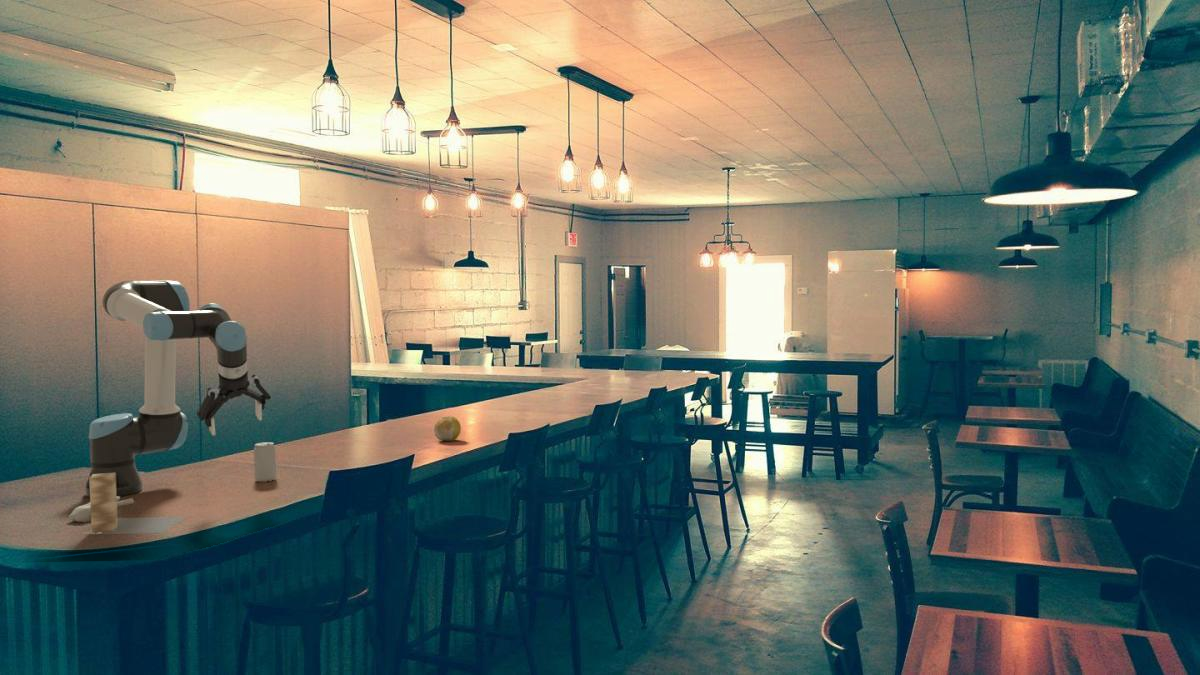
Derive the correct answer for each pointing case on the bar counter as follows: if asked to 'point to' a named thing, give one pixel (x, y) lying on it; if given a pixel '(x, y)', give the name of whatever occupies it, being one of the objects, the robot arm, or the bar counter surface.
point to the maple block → (103, 502)
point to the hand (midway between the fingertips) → (235, 424)
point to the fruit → (447, 428)
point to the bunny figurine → (84, 511)
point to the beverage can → (264, 462)
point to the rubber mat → (145, 525)
